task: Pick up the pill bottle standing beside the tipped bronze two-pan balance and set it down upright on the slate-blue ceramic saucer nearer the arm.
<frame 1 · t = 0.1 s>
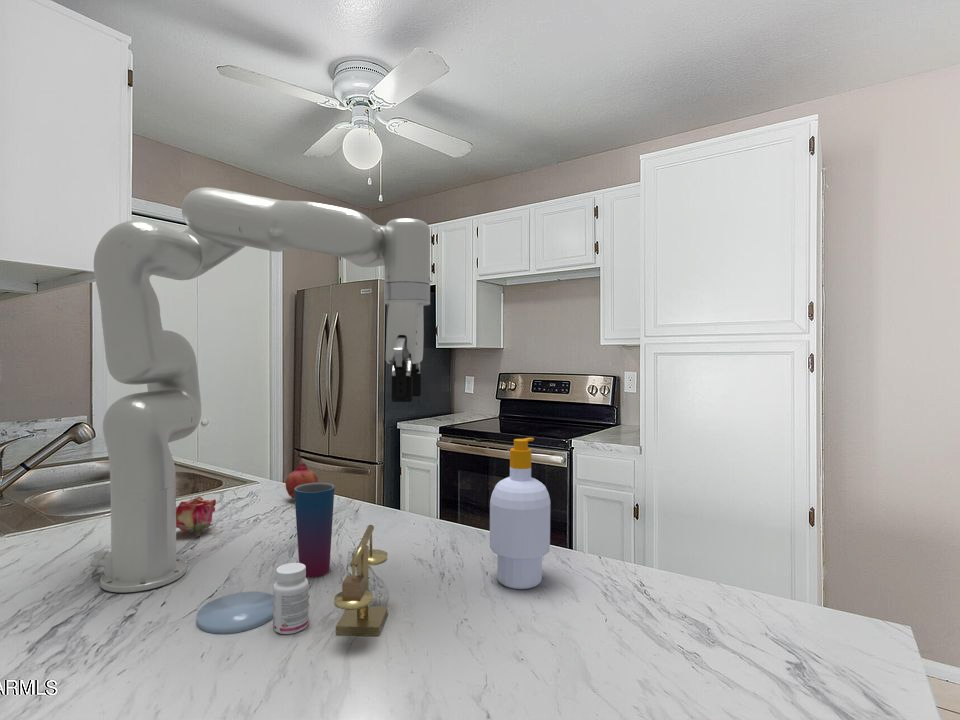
hand: (407, 398, 93), 31 cm above the countertop, fingers open, 9 cm apart
cup: (314, 572, 98), on the countertop
soap bottle: (519, 582, 95), on the countertop
flower: (192, 535, 117), on the countertop
saucer: (238, 614, 82), on the countertop
fruit: (302, 501, 143), on the countertop
pill bottle: (291, 627, 79), on the countertop
balance: (362, 624, 80), on the countertop
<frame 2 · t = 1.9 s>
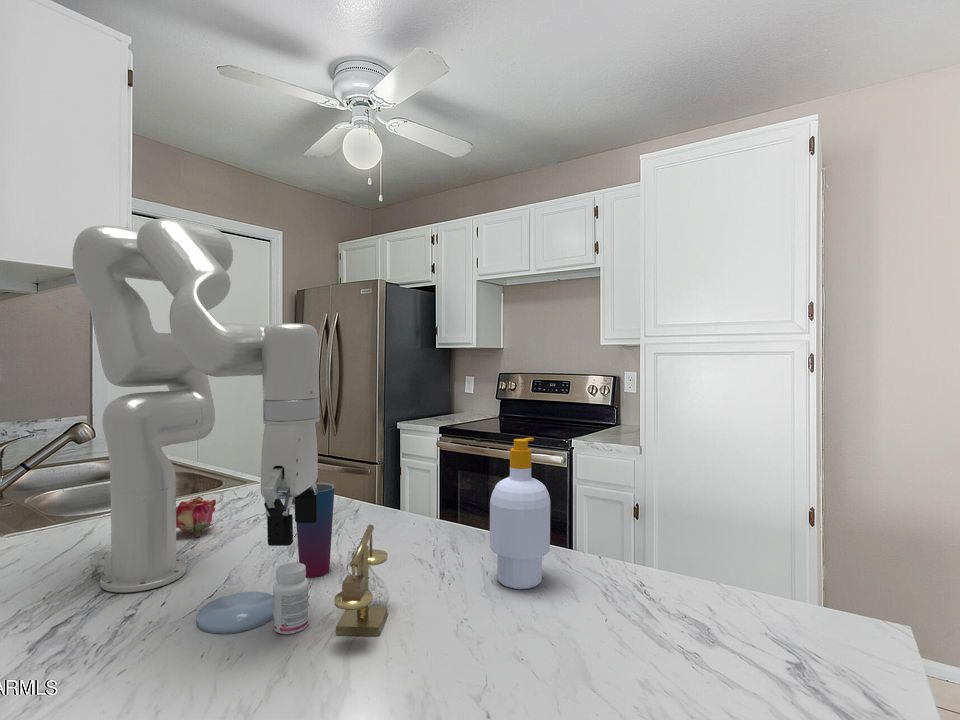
hand: (294, 532, 78), 13 cm above the countertop, fingers open, 9 cm apart
nothing on the countertop moved.
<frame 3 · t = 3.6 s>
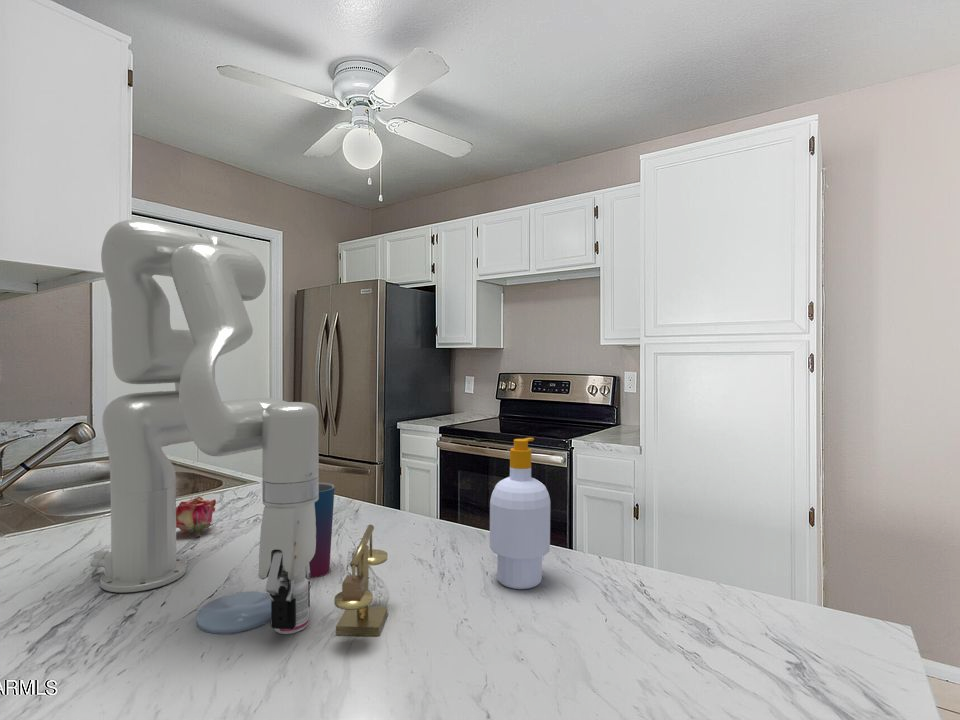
hand: (291, 616, 79), 1 cm above the countertop, fingers closed on pill bottle, 4 cm apart
pill bottle: (291, 627, 79), on the countertop, touching gripper
everything else where it was.
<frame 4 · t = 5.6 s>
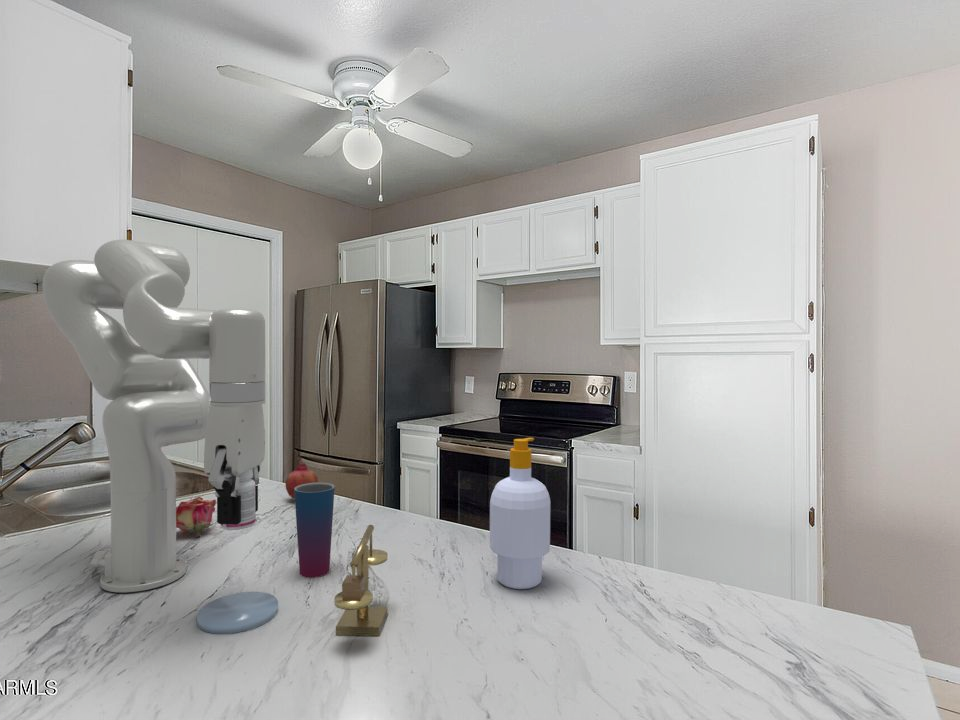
hand: (238, 516, 82), 15 cm above the countertop, fingers closed on pill bottle, 4 cm apart
pill bottle: (238, 526, 82), point 13 cm above the countertop, touching gripper
everything else where it was.
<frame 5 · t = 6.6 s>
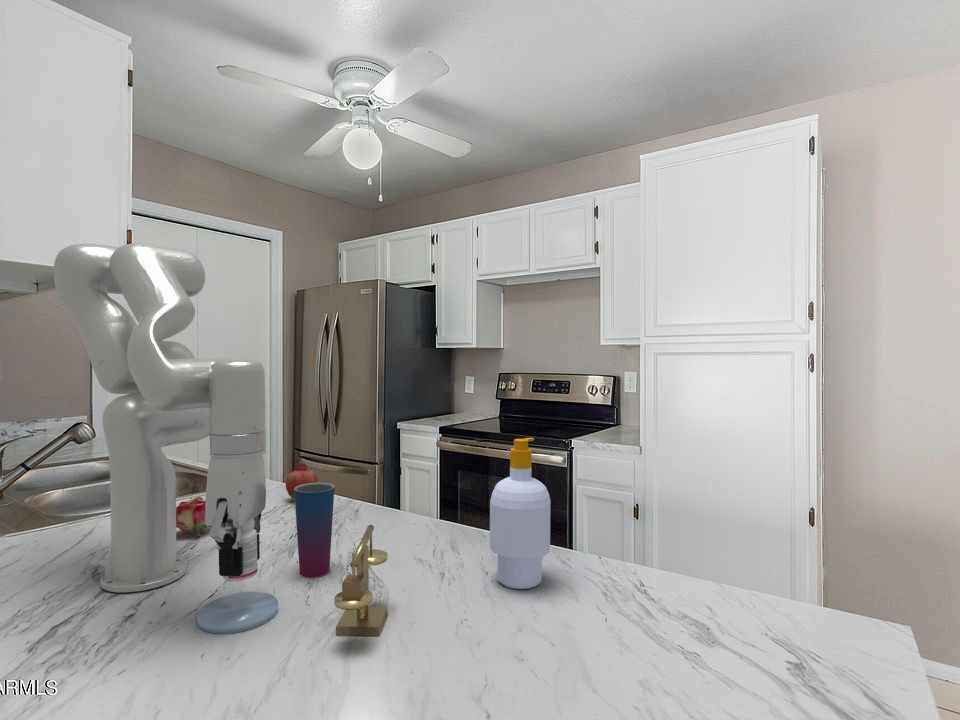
hand: (240, 566, 82), 7 cm above the countertop, fingers closed on pill bottle, 4 cm apart
pill bottle: (240, 577, 82), point 6 cm above the countertop, touching gripper
everything else where it was.
when the fingers open (4 cm above the countertop, at t = 7.5 s): pill bottle drops 1 cm, resting on saucer.
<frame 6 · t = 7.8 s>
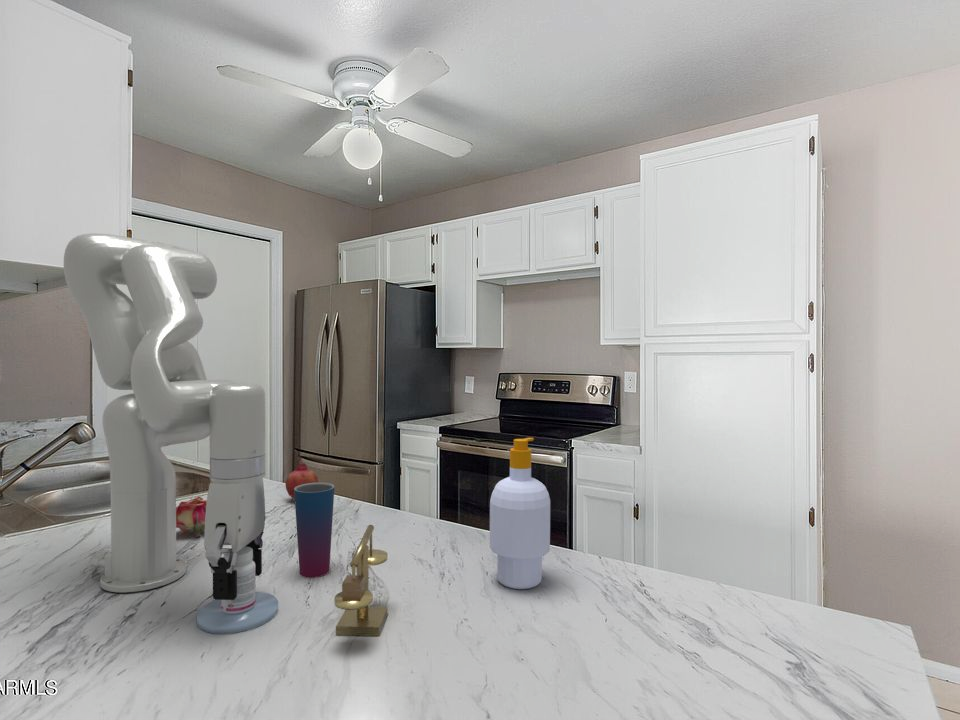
hand: (238, 585, 82), 4 cm above the countertop, fingers open, 7 cm apart
pill bottle: (238, 608, 83), point 1 cm above the countertop, touching saucer
everything else where it was.
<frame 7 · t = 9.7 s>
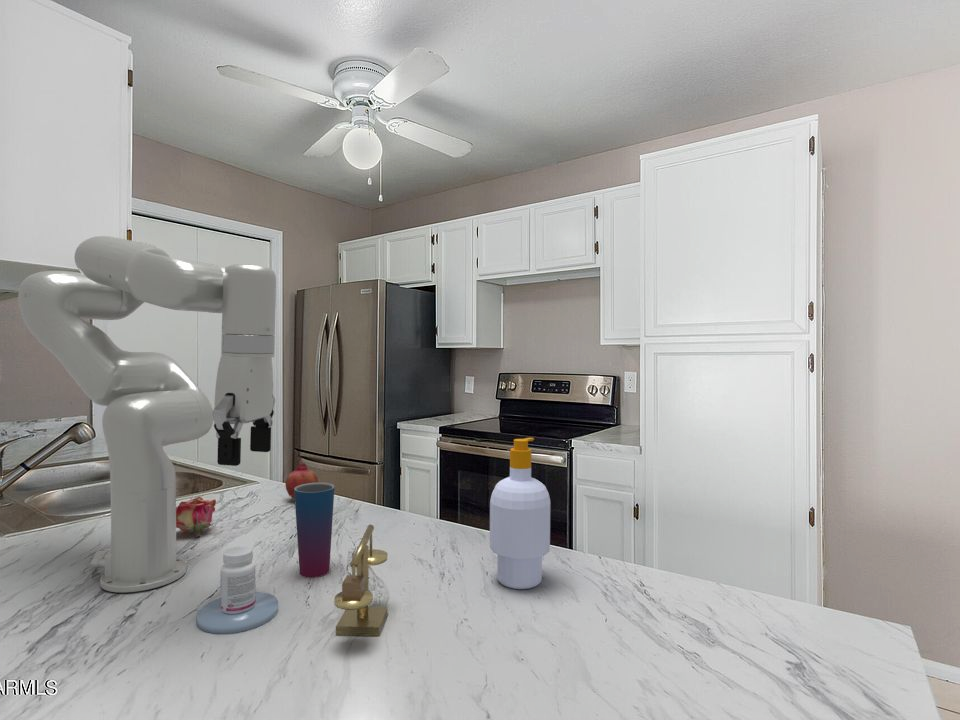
hand: (245, 457, 86), 23 cm above the countertop, fingers open, 9 cm apart
nothing on the countertop moved.
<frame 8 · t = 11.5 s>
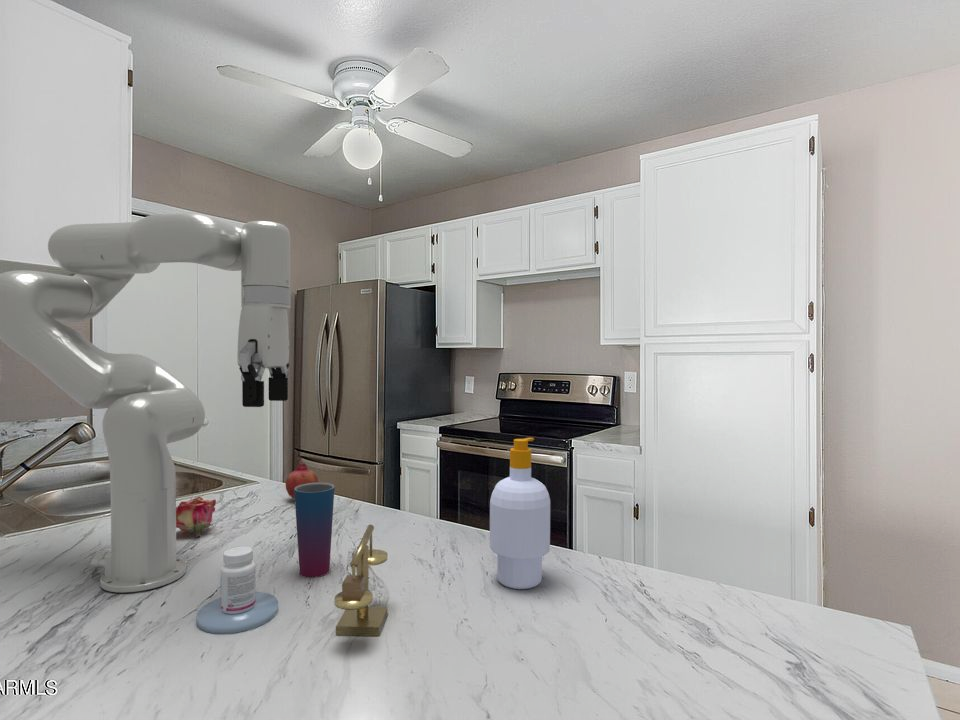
hand: (266, 403, 92), 30 cm above the countertop, fingers open, 9 cm apart
nothing on the countertop moved.
at the end: pill bottle 0.2 cm from the saucer (horizontally); pill bottle tilted 0°; pill bottle point 0.8 cm above the countertop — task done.
